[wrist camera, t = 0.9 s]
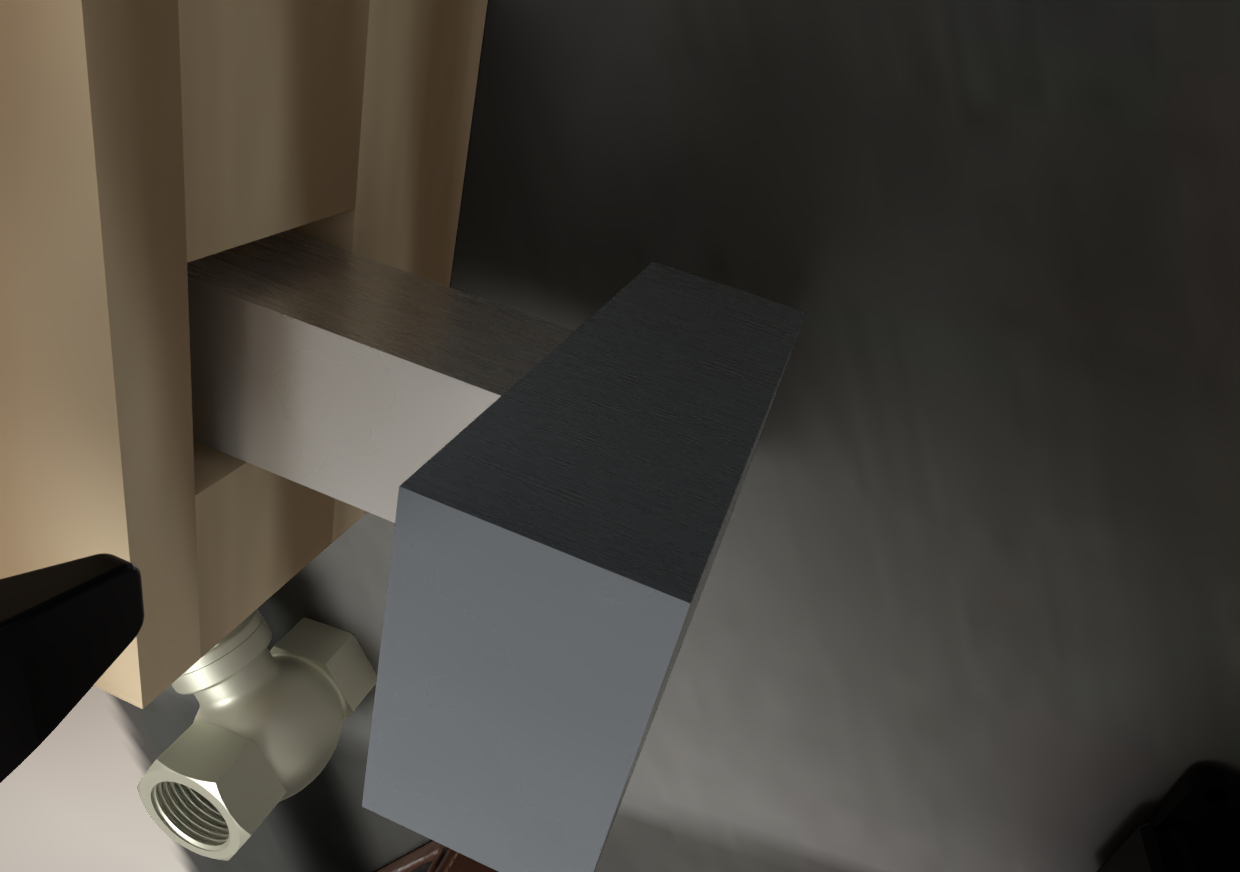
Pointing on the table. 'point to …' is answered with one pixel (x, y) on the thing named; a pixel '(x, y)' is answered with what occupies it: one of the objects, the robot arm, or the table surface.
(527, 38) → the table surface
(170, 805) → the valve
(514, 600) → the pale grey block
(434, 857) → the letter holder
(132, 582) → the robot arm
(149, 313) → the wooden block
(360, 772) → the table surface
